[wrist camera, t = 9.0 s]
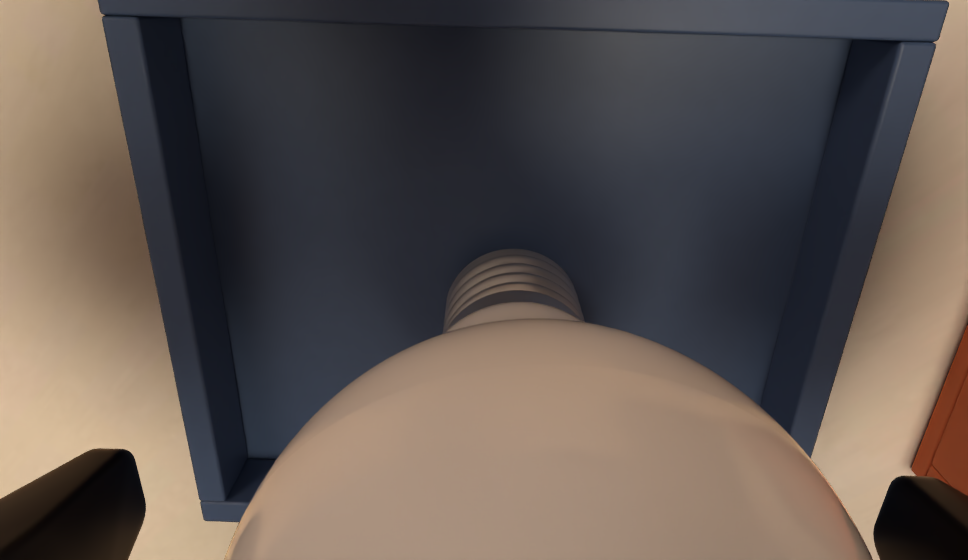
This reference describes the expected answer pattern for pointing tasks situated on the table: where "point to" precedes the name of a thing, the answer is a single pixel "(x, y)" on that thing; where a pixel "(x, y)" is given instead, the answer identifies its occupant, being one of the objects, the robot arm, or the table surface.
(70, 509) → the robot arm
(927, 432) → the terracotta tray
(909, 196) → the table surface
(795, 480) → the lightbulb
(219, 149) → the blue tray
